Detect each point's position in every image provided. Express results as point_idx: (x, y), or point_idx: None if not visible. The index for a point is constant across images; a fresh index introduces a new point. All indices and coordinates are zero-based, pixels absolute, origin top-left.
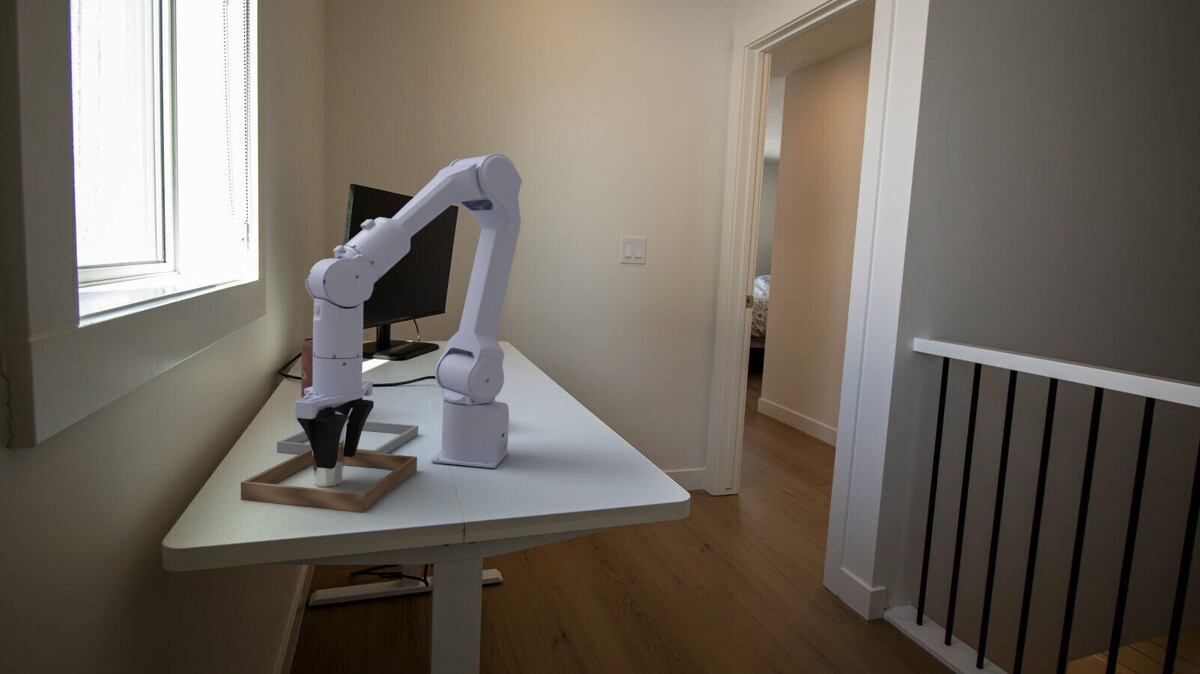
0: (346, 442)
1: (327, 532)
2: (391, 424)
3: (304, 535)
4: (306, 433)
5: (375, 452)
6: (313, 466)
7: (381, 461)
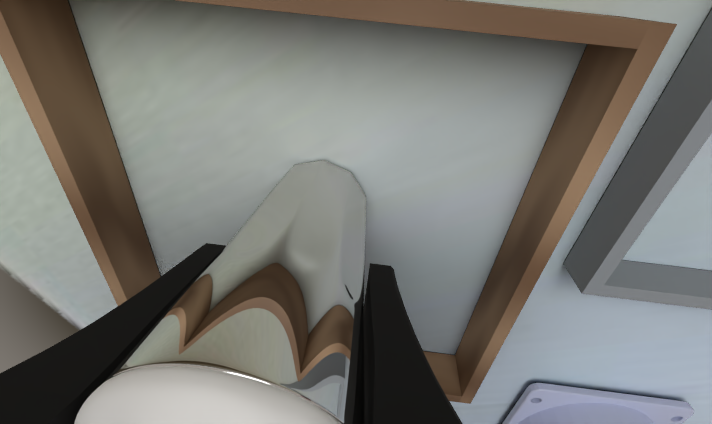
0: (365, 343)
1: (51, 296)
2: None
3: (10, 267)
4: (19, 368)
5: (581, 289)
6: (271, 194)
7: (487, 313)
